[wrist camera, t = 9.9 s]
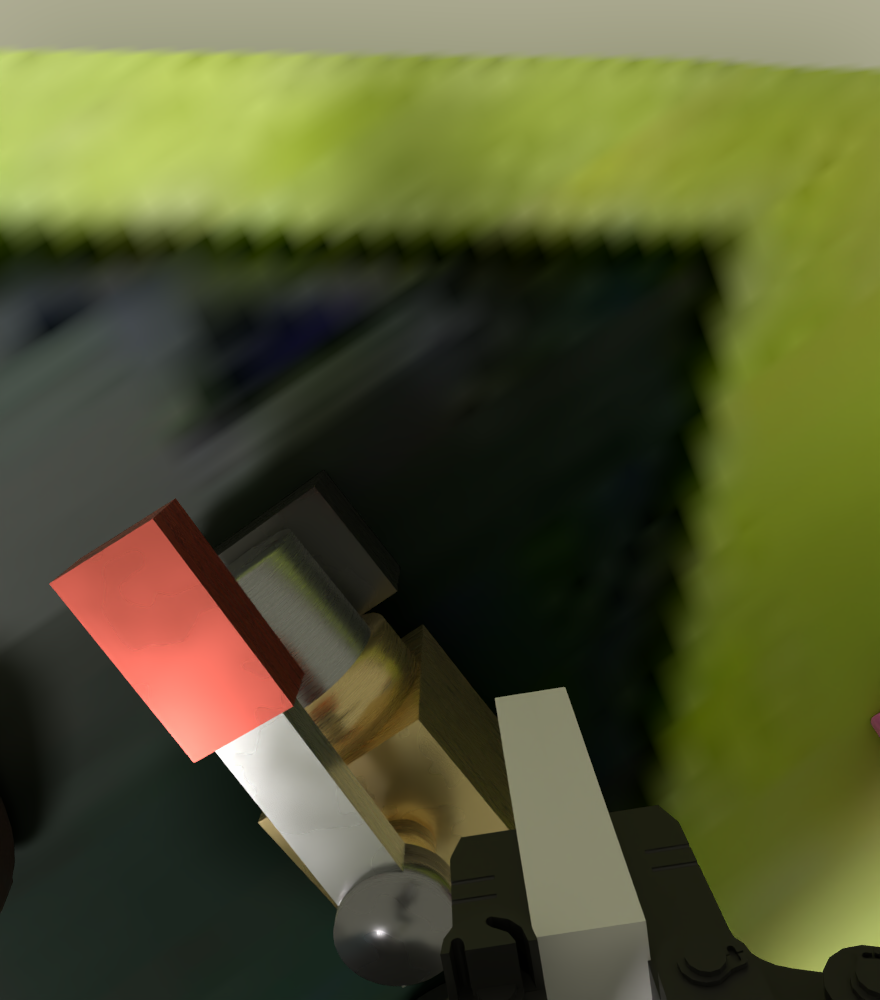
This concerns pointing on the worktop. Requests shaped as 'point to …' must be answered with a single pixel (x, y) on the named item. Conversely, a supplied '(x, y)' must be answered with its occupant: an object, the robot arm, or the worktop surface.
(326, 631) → the valve pipe
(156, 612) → the lever
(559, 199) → the worktop surface
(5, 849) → the pipe
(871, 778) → the worktop surface
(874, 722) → the gum box
